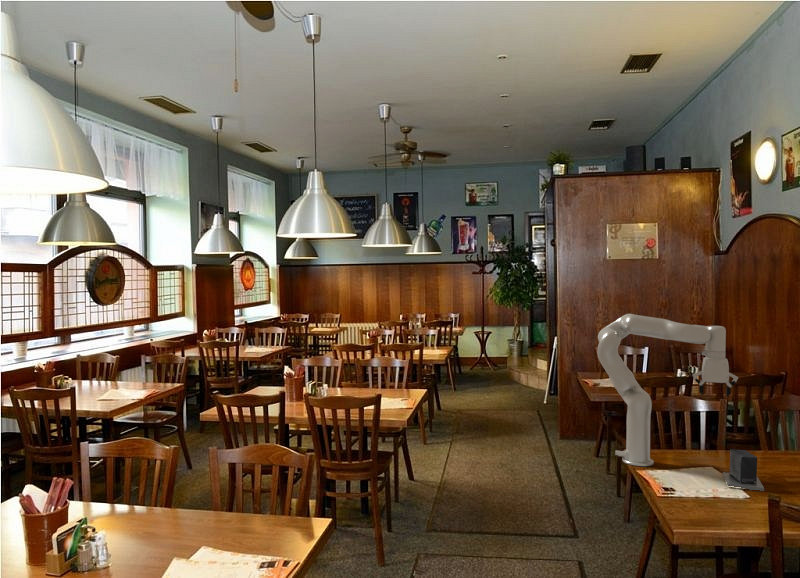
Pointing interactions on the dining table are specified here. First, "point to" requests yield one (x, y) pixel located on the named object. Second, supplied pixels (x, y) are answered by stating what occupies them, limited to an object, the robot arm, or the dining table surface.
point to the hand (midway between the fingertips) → (714, 395)
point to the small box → (743, 466)
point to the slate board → (735, 483)
